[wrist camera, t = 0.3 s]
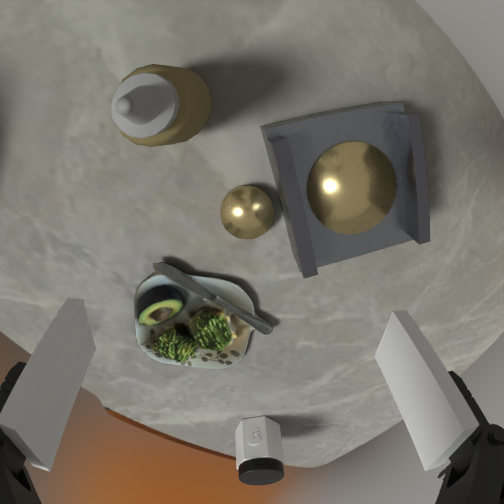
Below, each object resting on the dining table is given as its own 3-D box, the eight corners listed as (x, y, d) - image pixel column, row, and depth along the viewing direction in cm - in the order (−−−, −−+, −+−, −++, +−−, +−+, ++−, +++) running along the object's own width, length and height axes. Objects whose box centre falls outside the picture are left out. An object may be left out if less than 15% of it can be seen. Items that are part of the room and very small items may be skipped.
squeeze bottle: (226, 85, 31) (220, 63, 15) (196, 151, 34) (163, 194, 18) (159, 61, 29) (94, 25, 13) (131, 126, 32) (49, 150, 16)
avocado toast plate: (285, 274, 42) (291, 293, 38) (257, 368, 49) (259, 389, 45) (138, 251, 39) (128, 268, 35) (137, 351, 47) (131, 372, 43)
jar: (276, 412, 55) (283, 465, 44) (282, 432, 58) (289, 481, 48) (229, 420, 55) (231, 472, 44) (240, 439, 59) (242, 487, 48)
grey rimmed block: (260, 126, 33) (268, 131, 26) (382, 101, 32) (417, 104, 25) (292, 252, 40) (305, 286, 33) (399, 223, 39) (430, 248, 32)
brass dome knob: (214, 192, 36) (213, 197, 35) (265, 178, 36) (267, 182, 34) (229, 238, 39) (229, 245, 37) (277, 225, 39) (279, 231, 37)
